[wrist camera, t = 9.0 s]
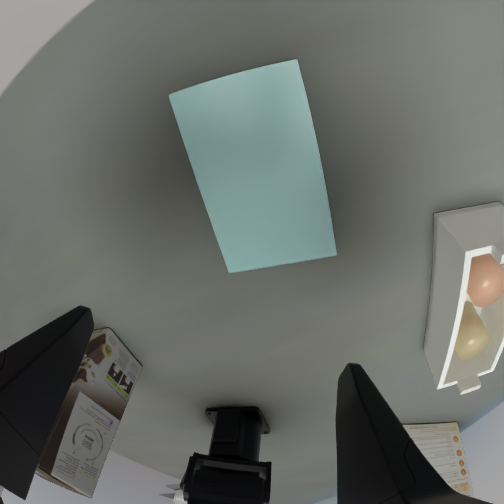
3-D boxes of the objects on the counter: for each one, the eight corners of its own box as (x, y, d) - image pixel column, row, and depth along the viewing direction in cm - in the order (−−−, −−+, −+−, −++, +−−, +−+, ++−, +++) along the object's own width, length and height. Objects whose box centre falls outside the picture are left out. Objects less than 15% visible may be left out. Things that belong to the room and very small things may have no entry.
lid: (334, 244, 22) (336, 255, 20) (232, 261, 23) (229, 273, 22) (296, 60, 16) (296, 59, 14) (176, 93, 17) (168, 94, 16)
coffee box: (108, 324, 28) (36, 468, 14) (144, 367, 31) (95, 501, 17) (57, 334, 30) (-7, 446, 16) (90, 371, 33) (41, 479, 19)
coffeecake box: (354, 444, 37) (358, 565, 21) (378, 422, 33) (390, 560, 17) (431, 442, 38) (446, 543, 21) (458, 420, 34) (481, 531, 17)
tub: (474, 333, 24) (497, 381, 19) (422, 348, 26) (440, 401, 20) (498, 200, 18) (546, 242, 12) (433, 212, 19) (474, 261, 14)
